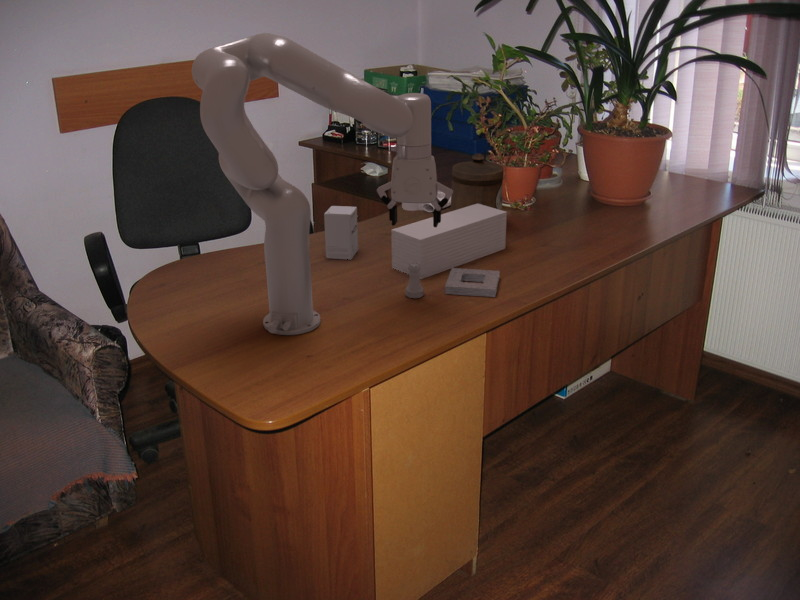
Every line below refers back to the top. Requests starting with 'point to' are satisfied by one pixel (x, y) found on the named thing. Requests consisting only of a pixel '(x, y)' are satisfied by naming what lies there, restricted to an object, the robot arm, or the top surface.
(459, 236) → the long grey block
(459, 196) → the wooden container
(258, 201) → the robot arm
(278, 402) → the top surface
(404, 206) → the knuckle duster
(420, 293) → the rook chess piece
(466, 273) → the socket plate
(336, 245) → the supplement box
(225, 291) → the top surface
